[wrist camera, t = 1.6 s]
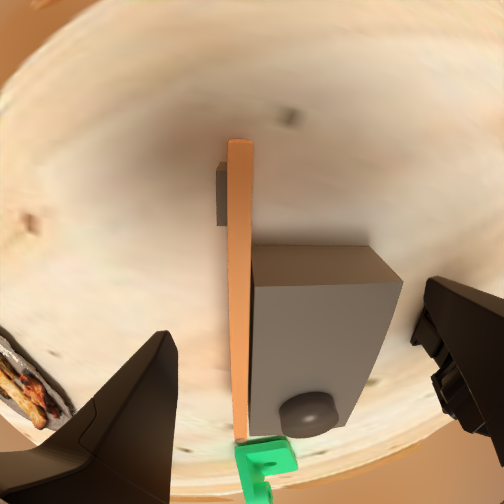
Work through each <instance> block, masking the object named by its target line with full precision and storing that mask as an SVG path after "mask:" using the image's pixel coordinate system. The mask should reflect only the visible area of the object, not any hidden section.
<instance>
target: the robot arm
mask: <svg viewBox="0 0 504 504" xmlns="http://www.w3.org/2000/svg"><path fill="white" fill-rule="evenodd" d="M424 303H425V307H424V310H423V313H422V315H421V318H420V320H419V323H418V325H417V328H416V330H415V333H414V335H413V337H412V340H411V344H412V346H416V345H422V346H423V348H424V349H425V350H426V352H427V353H428V355H429V356H430V358H433V359H434V360H435V362H436V363H437V365H438V366H439V368H440V369H439V370H438V371H437V372H436V373H434V374H433V375H432V376H431V380H432V382H433V383H432V384H433V387H434V389H435V391H436V394H437V396H438V399H439V401H440V404H441V407H442V411H443V413H444V414H449V415H450V416H451V417H452V418H453V419H455V420H457V419H458V420H459V422H460V424H461V426H462V428H463V429H464V430H465V431H467V432H469V433H472V434H473V433H474V432H475V433H478V434H481V435H484V436H488V437H491V439H492V442H493V445H494V447H495V450H496V453H497V456H498V459H499V462H500V464H501V466H502V467H504V299H502V298H499V297H497V296H494V295H491V294H489V293H486V292H483V291H480V290H477V289H475V288H472V287H469V286H466V285H463V284H460V283H457V282H455V281H452V280H449V279H446V278H443V277H440V276H433V277H430V278H428V279H427V281H426V287H425V292H424ZM93 397H94V398H91V399H90V400H89V401H88V402H87V403H86V404H85V405H84V406H83V407H82V408H81V409H80V410H79V411H78V412H77V413H76V414H75V415H74V416H73V417H72V418H71V419H70V420H68V421H67V422H66V423H65V424H64V425H63V426H62V427H60V428H59V429H58V430H57V431H56V432H55V433H54V434H52V435H51V436H50V437H49V438H48V439H47V440H45V441H44V442H43V443H42V444H40V445H39V446H37V447H36V448H33V449H30V450H26V451H14V452H0V504H169V502H170V482H171V466H172V452H173V440H174V429H175V419H176V409H177V400H178V350H177V347H176V345H175V343H174V340H173V338H172V336H171V334H170V332H169V331H167V330H164V331H157V332H156V333H154V334H153V335H152V336H151V337H150V338H149V340H148V341H147V342H146V343H145V344H144V345H143V346H142V347H141V348H140V349H139V350H138V351H137V352H136V353H135V354H134V355H133V356H132V357H131V358H130V359H129V360H128V361H127V362H126V363H125V364H124V365H123V366H122V367H121V368H120V369H119V370H118V371H117V372H116V373H115V374H114V375H113V376H112V377H111V378H110V379H109V380H108V381H107V383H106V384H105V385H104V386H103V387H102V388H101V389H100V390H99V391H98V392H97V393H96V394H95V395H94V396H93ZM500 504H504V501H503V502H502V503H500Z"/></svg>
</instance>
